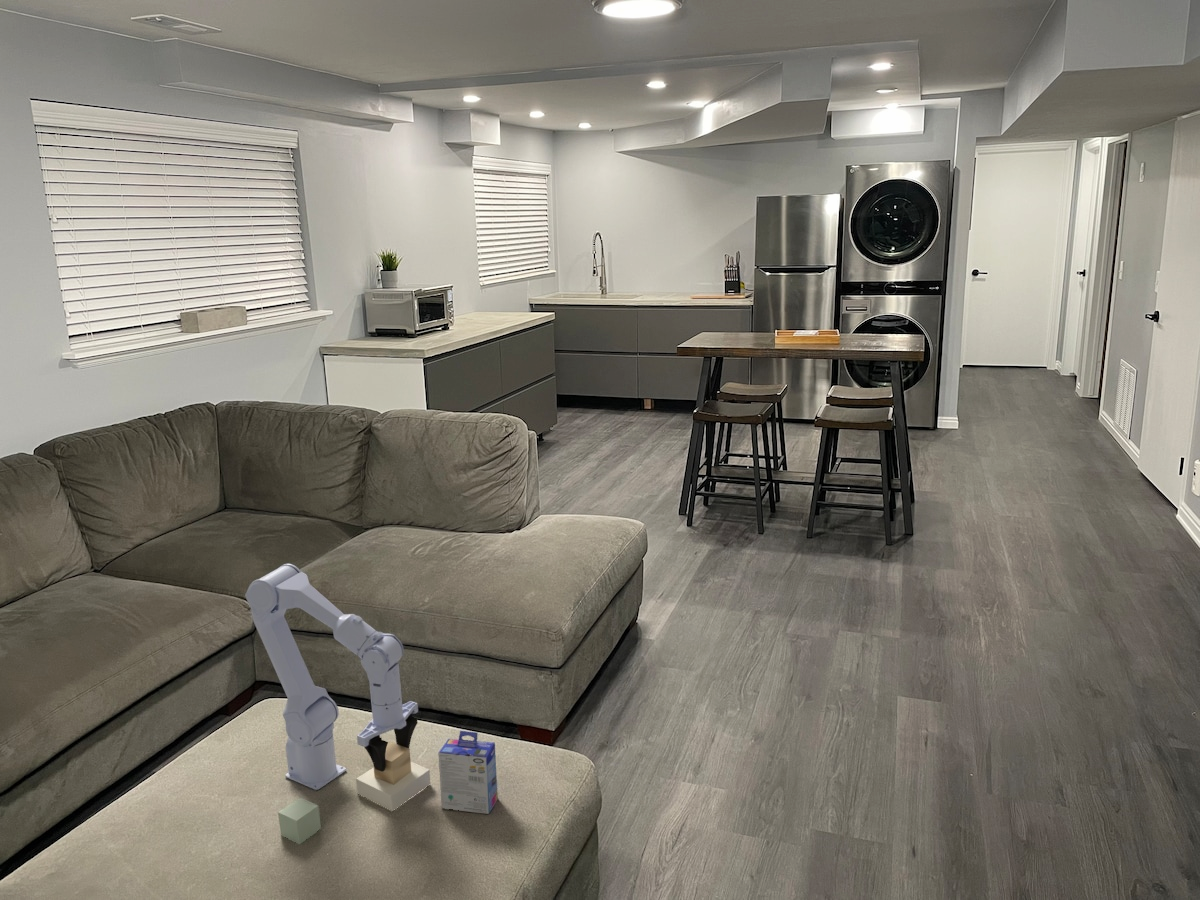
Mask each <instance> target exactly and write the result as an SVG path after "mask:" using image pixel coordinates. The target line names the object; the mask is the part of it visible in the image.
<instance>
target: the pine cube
mask: <svg viewBox="0 0 1200 900" xmlns="http://www.w3.org/2000/svg"><path fill="white" fill-rule="evenodd" d="M385 762H386V767H385V770H384V771H383V772H382V771H379V770H376V769H375V767H374V764H373V763H372V764H373V765H372V766H373V767H374V776H375V778H378V779H380V780H383V781H385V782H388V783H391V784H393V785H394V784H395V783H397V782H398V781H399V780H401V779H402V778H403V777H404V776H406V775H407V774H408V773H410V772H411V762H412V760H411V752H410V747H409V748H406V747H403V746H400V745H398V744H396V743H395V742H391V741H389V742H388V744H387V747H386V753H385Z"/></svg>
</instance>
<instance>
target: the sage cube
mask: <svg viewBox="0 0 1200 900" xmlns="http://www.w3.org/2000/svg"><path fill="white" fill-rule="evenodd" d="M277 816H278V823H279V831H280V836H281V837H283V838H285V837H286V838H285V839H287V838H288V839H287V840H289V841H291V840H292V842H294V843H295V842H296V843H295V844H297V845H299V844H300V845H301V844H302V843H304V842H305V841H306V839H307V840H308V839H309V838H311V837H313V836H314V835H315V834H316V833H318V832H319V831H320V830H322V826H321V825H322V824H321V817H320V816H321V815H320V806H319V804H317V803H314V802H311V801H309V800H306V799H305V798H302V797H298V798H297V799H295V800H294V801H292V802H291V803H289V804H288V805H286V806H285V807H284V808H282V809H280V810H279V811H278V812H277ZM319 829H320V830H319ZM318 830H319V831H318ZM317 831H318V832H317ZM310 836H311V837H310Z"/></svg>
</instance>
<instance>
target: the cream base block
mask: <svg viewBox="0 0 1200 900" xmlns="http://www.w3.org/2000/svg"><path fill="white" fill-rule="evenodd" d="M430 772H431V771H430V769H429V768H427V767H424V766H423V765H420V764H417V763H416V762H413V761H411V772H410V773H408V774H407V775H406V776H404V777H403V778H402V779H401V780H399V781H398V782H397V783H395V784H394V785H393V784H391V783H388V782H385V781H383V780H380V779H378V778H375V776H374V766H373V767H372V768H370V769H369V770H367V771H366V772H364V773H363V774H361V775H360V776H357V778H355V780H356V781H355V783H356V792H357V793H358V794H360V795H362V796H364V797H366V798H368V799H370V800H372V801H374V802H376V803H378V804H380V805H382V806H384V807H386V808H388V809H390V810H391V811H390V810H389V811H390V812H392V811H393V810H394V809H396V808H397V807H399V806H400V805H401V804H403V803H404V802H405V801H407V800H408V799H409V798H411V797H412V796H414V795H415V794H417V793H418V792H419V791H421V790H422V789H424V788H425V787H426V786H428V785H429V784H431V773H430ZM358 794H357V795H358ZM360 795H359V796H360ZM362 796H361V797H362ZM364 797H363V798H364ZM366 798H365V799H366ZM368 799H367V800H368ZM370 800H369V801H370ZM372 801H371V802H372ZM374 802H373V803H374ZM376 803H375V804H376ZM378 804H377V805H378ZM380 805H379V806H380ZM403 805H404V804H403ZM382 806H381V807H382ZM384 807H383V808H384ZM386 808H385V809H386ZM399 808H400V807H399ZM388 809H387V810H388ZM396 810H397V809H396Z"/></svg>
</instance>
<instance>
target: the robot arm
mask: <svg viewBox="0 0 1200 900" xmlns="http://www.w3.org/2000/svg"><path fill="white" fill-rule="evenodd" d="M309 580H310V579H309V577H308V574H306V573H305V572H303V571H301V570H300V568H299V567H298V566H296V565H294V564H292V563H284V564H282V565H281V566H279V567H278V568H276V569H274V570H272V571H271V572H269V573H267V574H265V575H264V576H262V577H260V578H257V579H255V580H253V581H252V582H251V583H250V584H249V586H248V588H247V590H246V592H245V595H244V596H245V598H246V601H247V603H248V606H249V608H250V610H251V619H252V621H253V623H254V626H255V628H256V630H257V633H258V634H259V635H258V636H259V637H260V639H261V641H262V643H263V645H264V648H265V651H266V652H267V655H268V658H269V659H270V662H271V664H272V667H273V668H274V670H275V671H274V672H275V674H276V675H277V678H278V679H279V682H280V684H281V686H282V688H283V691H284V693H285V695H286V697H287V700H286V703H285V706H284V709H283V712H282V717H283V719H284V722H285V731H286V736H287V737H288V738H287V740H286V743H285V753H286V755H285V756H286V761H287V771H288V772H287V773H285V775H284V776H285V778H287V779H290V780H292V781H293V782H296V783H299V784H301V785H303V786H306V787H308V788H309V789H313V790H314V791H318V790H320V789H322V788H323V787H324V786H326V785H327V784H328V783H330V782H332V781H333V780H334V779H336V778H338V777H339V776H340V775H342V774H343V773H345V772H346V771H347V768H346V767H345V766H342V765H340V764H337V761H336V750H335V738H334V731H333V730H334V729H335V724H334V723H335V722H336V721H337V720H338V718H339V715H340V712H339V707H338V705H337V703H336V702H335V700H333V699H332V698H331V696H330V695H329V694H328V690H327V689H326V688H324V687H321V686H316V685H315V683H314V680H313V678H312V677H311V674H310V671H309V670H308V667H307V665H306V663H305V661H304V659H303V656H302V654H301V652H300V649H299V647H298V645H297V642H296V640H295V639H294V635H293V633H292V631H291V629H290V627H289V624H288V622H287V620H286V617H285V614H286V612H287V610H290V609H301V610H302V611H304V612H305V613H306V614H309V615H310V616H311V617H313V618H314V619H316V620H318V621H320V622H321V623H323V624H324V625H325V626H327V627H329V628H330V629H332V632H333V633H332V634H333V639H335V641H337V642H339V643H340V644H341V645H342V646H343V647H345V648H347V649H348V650H349V651H350V652H351V653H353V654H354V655H355V656H357V657H359V658H360V664H361V667H362V668H363V670H364V671H365V672H366V675H367V680H368V681H369V682H368V683H369V692H370V703H371V713H372V714H371V715H372V719H371V720H370V721H369V722H368V723H367V725H366V726H365V728H364V729H363V730H362V731H361V732H360V733H358V734H357V735H356V741H357V745H358V746H361V747H364V749H365V750H366V752H367V754H368V756H369V757H370V759H371V761H372V764H374V765H373V767H375V769H376V770H379V771H382V772H383V771H384V770H385V767H386V762H385V753H386V747H387V744H388V743H389V741H386V740H384V739H382V737H381V735H382V734H385V733H388V732H390V731H393V732H394V735H395V741H396V743H395V744H398V745H400V746H403V747H406V748H409V749H410V746H411V740H412V736H413V733H414V730H415V729H416V726H417V725H418V718H417V717H414V716H413V715H412V714H417V713H419V703H418V702H415V701H412V700H409V701H407V702H406V703H403V700H402V687H401V675H400V663H399V661H400V660H401V659H402V657H403V655H404V645H403V643H402V641H400V640H401V639H399V638H398V637H397V636H396V635H395V634H393V633H384V632H383V631H377V630H376V629H375V628H373V627H372V626H371V625H370V624H368V623H367V622H365V621H364V619H363V618H362V617H361V616H360V615H356V614H355V613H346V614H344V613H343V612H342V611H341V610H340V609H339V608H337V607H336V605H334V604H333V603H332V602H331V601H330V600H328V598H326V597H325V596H324V595H323V594H321V592H319V590H317V589H316V588H315V587H314V586H313V585H311V583H310V581H309Z"/></svg>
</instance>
